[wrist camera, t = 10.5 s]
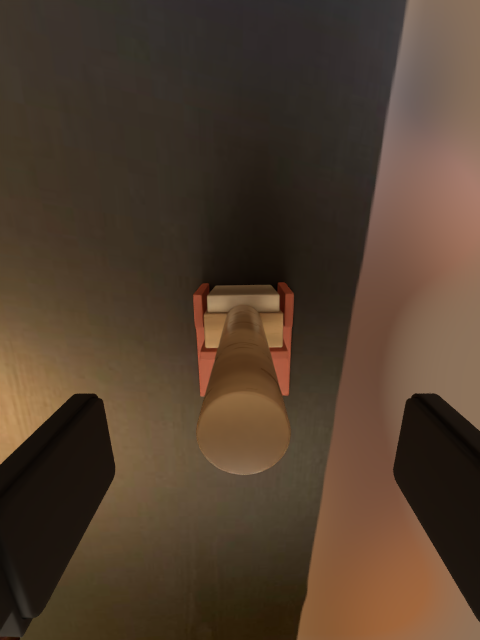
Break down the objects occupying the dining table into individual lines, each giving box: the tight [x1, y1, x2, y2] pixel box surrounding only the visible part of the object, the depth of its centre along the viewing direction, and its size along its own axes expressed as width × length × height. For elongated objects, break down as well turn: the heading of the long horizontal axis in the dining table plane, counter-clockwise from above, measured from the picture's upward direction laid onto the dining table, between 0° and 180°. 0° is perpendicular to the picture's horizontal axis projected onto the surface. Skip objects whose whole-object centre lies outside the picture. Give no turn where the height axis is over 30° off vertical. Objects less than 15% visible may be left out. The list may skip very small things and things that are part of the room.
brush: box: [196, 285, 291, 475], centre depth 13 cm, size 15×4×3 cm
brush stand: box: [193, 282, 294, 396], centre depth 22 cm, size 10×8×7 cm
